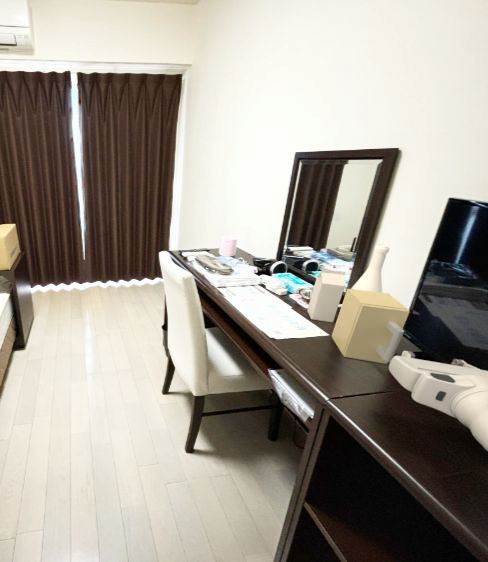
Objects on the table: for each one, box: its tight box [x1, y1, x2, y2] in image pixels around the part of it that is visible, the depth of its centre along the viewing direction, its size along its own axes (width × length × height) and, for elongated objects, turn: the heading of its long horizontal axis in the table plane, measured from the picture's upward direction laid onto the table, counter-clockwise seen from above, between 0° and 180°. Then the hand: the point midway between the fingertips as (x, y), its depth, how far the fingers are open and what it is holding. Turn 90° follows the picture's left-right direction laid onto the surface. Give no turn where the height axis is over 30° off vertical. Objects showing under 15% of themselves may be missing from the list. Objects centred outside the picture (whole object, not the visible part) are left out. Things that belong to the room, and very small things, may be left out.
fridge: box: [331, 288, 408, 356], centre depth 94 cm, size 11×11×18 cm
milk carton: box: [307, 269, 346, 323], centre depth 113 cm, size 7×7×19 cm
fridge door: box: [342, 304, 410, 365], centre depth 87 cm, size 6×11×18 cm, turn 72°
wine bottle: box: [350, 244, 390, 293], centre depth 107 cm, size 10×10×30 cm
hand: (430, 357), depth 70 cm, fingers open, 8 cm apart
